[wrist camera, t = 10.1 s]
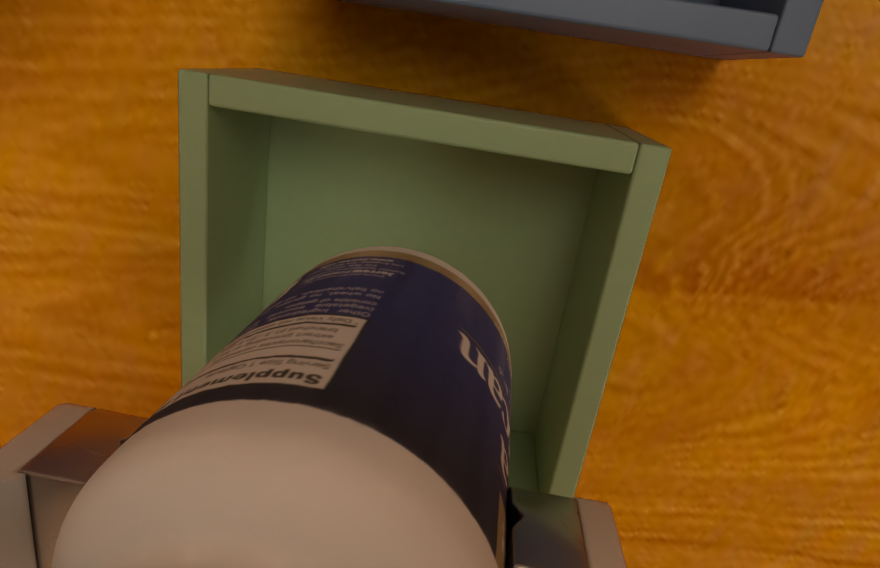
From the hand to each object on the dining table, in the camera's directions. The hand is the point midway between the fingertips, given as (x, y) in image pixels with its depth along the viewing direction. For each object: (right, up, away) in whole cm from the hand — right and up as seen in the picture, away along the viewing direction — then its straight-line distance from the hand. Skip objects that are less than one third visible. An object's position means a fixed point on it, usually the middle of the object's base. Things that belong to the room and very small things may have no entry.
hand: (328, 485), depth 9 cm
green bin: (+1, +3, +10) cm, 10 cm away
